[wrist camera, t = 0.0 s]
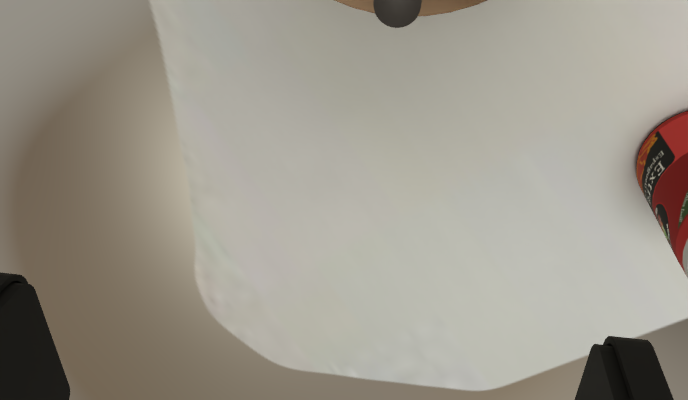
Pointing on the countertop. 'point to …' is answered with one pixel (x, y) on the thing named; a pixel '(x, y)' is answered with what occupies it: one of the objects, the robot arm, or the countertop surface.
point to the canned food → (668, 181)
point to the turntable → (407, 8)
